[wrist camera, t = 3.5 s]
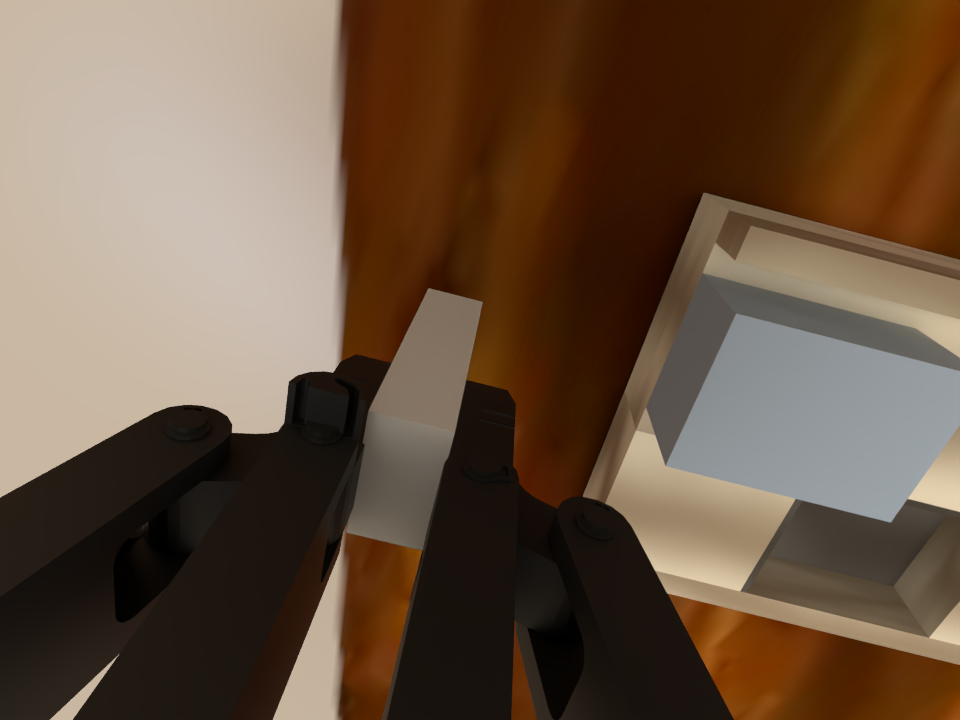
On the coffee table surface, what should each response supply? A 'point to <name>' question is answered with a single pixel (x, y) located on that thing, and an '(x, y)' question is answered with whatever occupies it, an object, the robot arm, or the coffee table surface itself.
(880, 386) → the block
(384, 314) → the coffee table surface
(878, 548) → the box
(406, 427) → the robot arm
